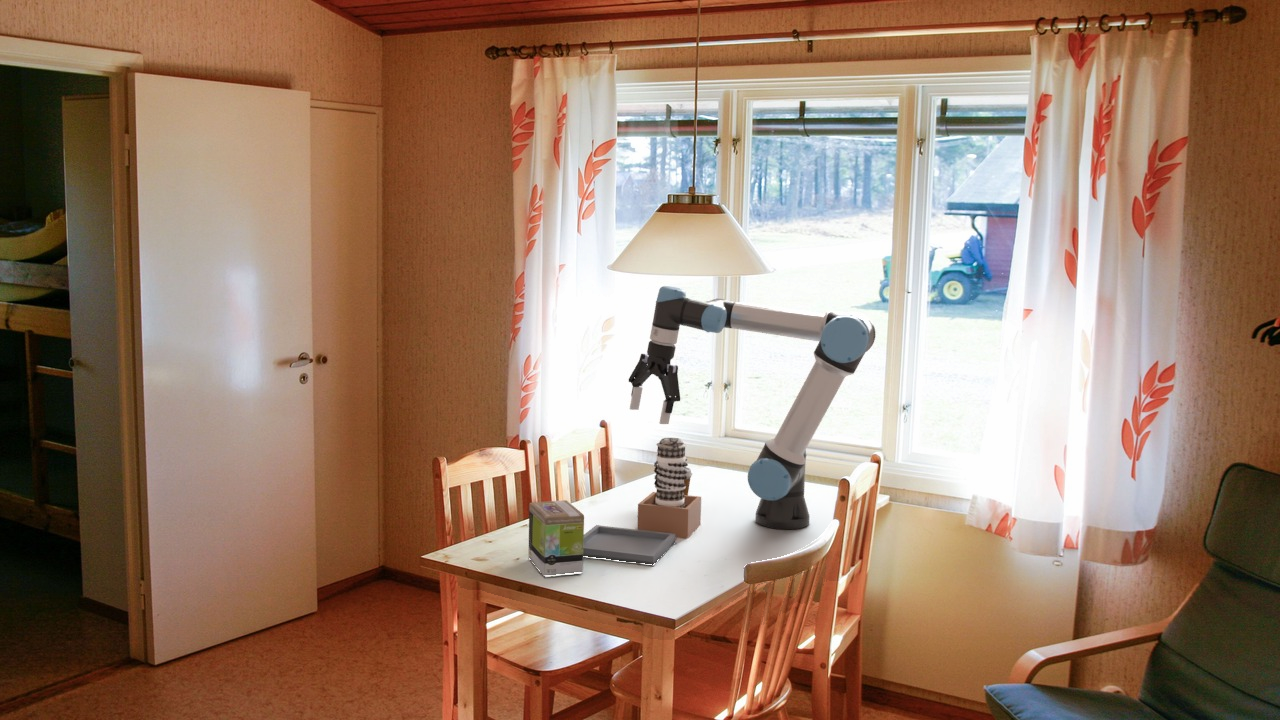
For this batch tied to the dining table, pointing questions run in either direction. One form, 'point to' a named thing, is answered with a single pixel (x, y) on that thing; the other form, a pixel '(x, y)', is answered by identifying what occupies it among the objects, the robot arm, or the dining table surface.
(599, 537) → the slate tray
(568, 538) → the tea box
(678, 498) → the decorative candle
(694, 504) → the terracotta holder
